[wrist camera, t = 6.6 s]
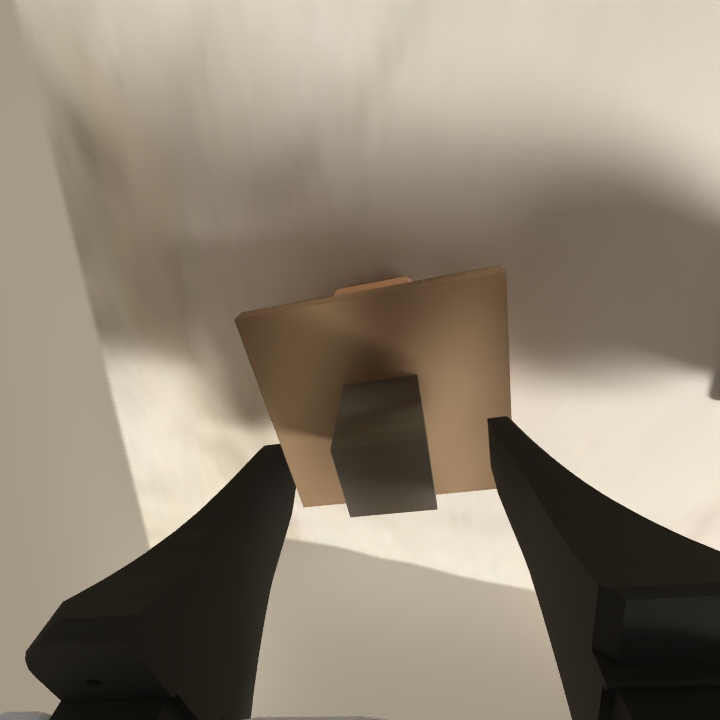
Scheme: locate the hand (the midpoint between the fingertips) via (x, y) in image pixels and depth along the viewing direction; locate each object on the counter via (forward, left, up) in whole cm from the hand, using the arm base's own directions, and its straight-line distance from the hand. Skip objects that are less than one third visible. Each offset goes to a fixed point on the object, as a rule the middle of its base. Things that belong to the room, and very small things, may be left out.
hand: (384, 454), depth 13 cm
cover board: (0, 0, -4) cm, 4 cm away
